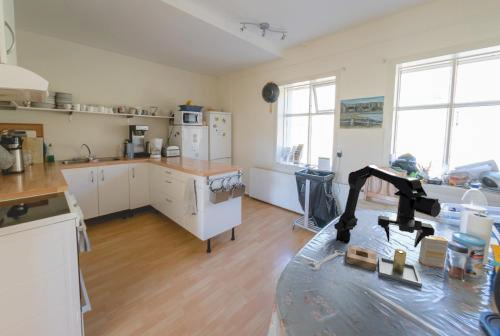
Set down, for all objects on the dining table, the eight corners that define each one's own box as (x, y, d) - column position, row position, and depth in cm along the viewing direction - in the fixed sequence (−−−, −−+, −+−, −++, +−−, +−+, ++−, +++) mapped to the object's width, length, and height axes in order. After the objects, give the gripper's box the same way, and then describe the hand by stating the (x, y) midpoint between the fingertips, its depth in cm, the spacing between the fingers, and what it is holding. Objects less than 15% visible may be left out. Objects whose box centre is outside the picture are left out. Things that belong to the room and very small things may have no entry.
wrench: (304, 267, 97) (314, 273, 93) (304, 264, 97) (314, 270, 93) (337, 250, 112) (347, 254, 107) (337, 247, 111) (347, 251, 107)
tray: (379, 276, 91) (379, 272, 90) (378, 260, 103) (378, 256, 102) (421, 288, 84) (422, 283, 84) (415, 269, 96) (415, 265, 96)
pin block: (346, 262, 100) (346, 256, 100) (348, 250, 111) (349, 245, 110) (376, 270, 95) (377, 264, 94) (375, 257, 105) (376, 251, 105)
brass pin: (392, 272, 92) (395, 252, 91) (391, 267, 96) (394, 248, 94) (404, 275, 91) (407, 255, 89) (402, 270, 94) (405, 250, 93)
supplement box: (439, 263, 102) (443, 236, 100) (444, 269, 97) (449, 241, 95) (417, 259, 104) (421, 233, 102) (421, 265, 100) (426, 237, 98)
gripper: (380, 209, 87) (376, 246, 89) (441, 219, 78) (434, 260, 80) (379, 202, 96) (375, 235, 99) (433, 210, 88) (427, 247, 90)
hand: (401, 244), depth 92 cm, fingers open, 9 cm apart
